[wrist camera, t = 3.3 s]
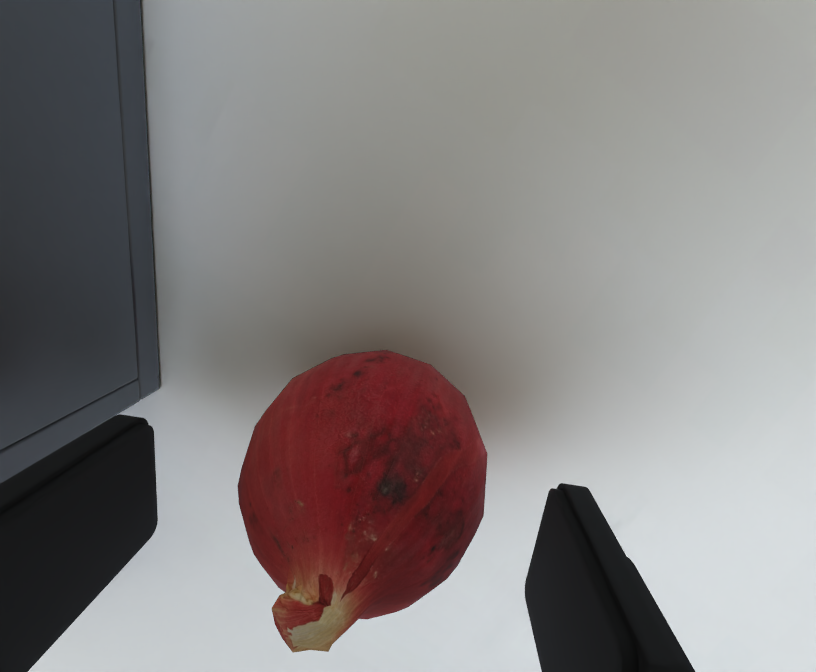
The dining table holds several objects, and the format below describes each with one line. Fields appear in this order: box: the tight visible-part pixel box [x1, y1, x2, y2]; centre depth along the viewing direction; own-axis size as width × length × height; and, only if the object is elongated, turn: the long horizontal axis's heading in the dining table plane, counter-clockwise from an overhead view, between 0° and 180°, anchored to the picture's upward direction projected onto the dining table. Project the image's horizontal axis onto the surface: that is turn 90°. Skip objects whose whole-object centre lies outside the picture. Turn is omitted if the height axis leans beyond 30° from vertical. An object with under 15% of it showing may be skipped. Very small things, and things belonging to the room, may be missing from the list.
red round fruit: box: [238, 350, 487, 652], centre depth 10 cm, size 6×6×8 cm
